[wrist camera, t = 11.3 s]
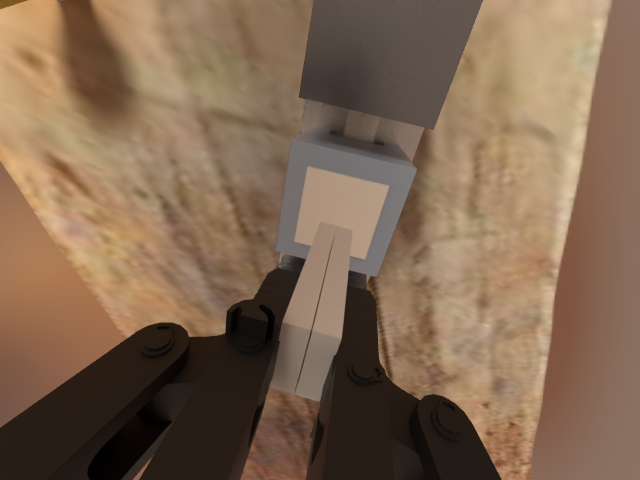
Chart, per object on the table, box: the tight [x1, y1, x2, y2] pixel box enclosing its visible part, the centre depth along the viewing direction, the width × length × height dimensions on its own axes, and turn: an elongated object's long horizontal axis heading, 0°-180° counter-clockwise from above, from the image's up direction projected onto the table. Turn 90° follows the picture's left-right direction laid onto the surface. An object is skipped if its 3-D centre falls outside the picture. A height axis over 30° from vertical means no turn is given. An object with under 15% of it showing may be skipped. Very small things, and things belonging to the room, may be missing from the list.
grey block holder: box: [277, 0, 483, 290], centre depth 21 cm, size 30×10×10 cm, turn 168°
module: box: [275, 127, 417, 277], centre depth 21 cm, size 8×7×9 cm
